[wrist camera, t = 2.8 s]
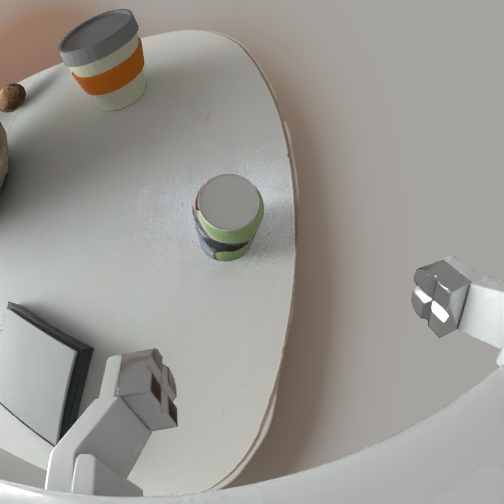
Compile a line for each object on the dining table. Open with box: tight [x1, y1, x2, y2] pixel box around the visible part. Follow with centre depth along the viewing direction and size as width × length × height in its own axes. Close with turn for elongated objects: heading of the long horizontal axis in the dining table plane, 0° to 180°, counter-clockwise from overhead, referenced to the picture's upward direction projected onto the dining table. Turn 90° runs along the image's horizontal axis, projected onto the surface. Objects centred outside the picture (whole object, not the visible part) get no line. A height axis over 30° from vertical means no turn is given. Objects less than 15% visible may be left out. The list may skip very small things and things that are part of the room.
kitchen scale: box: [0, 302, 94, 447], centre depth 28 cm, size 15×15×3 cm
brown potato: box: [0, 84, 26, 112], centre depth 44 cm, size 8×8×6 cm
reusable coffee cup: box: [59, 9, 146, 111], centre depth 37 cm, size 13×13×15 cm
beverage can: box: [192, 174, 264, 262], centre depth 29 cm, size 6×7×12 cm
